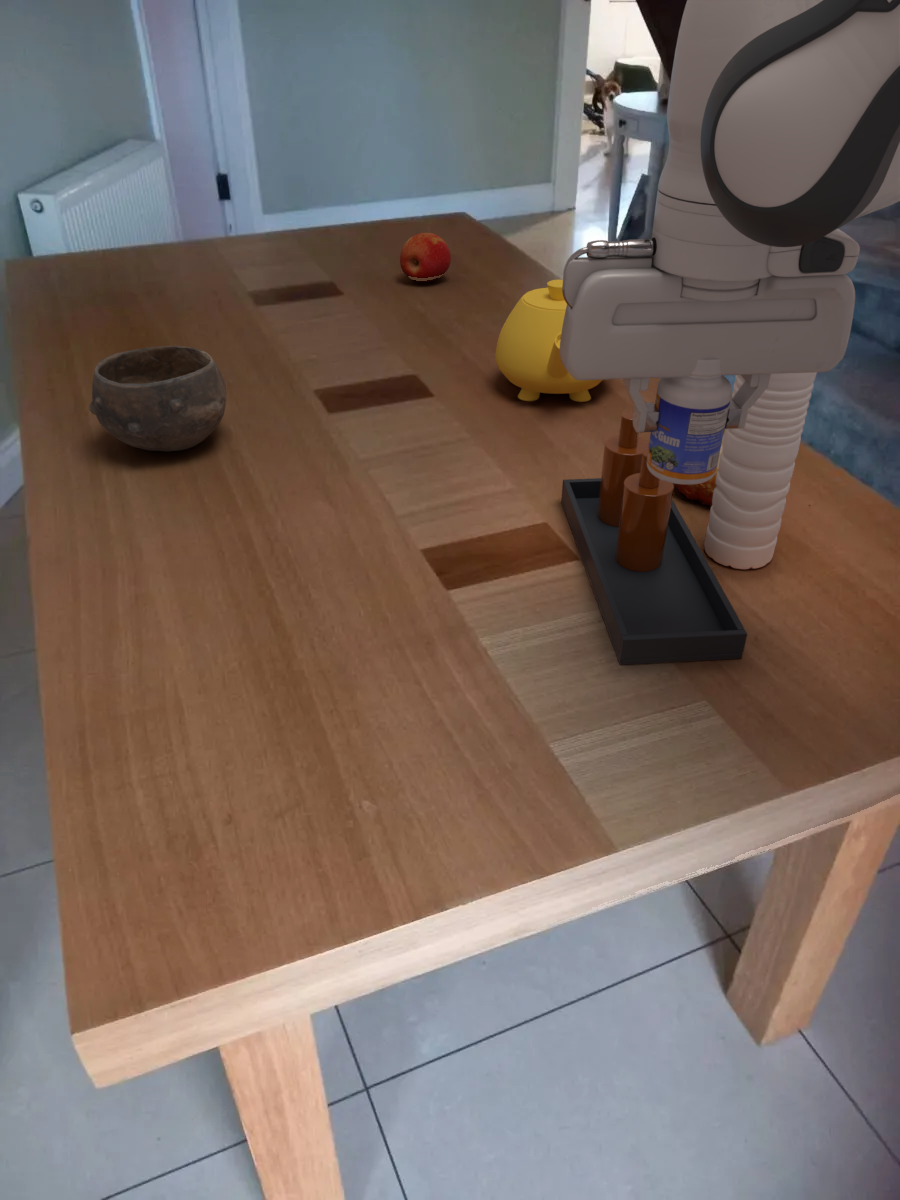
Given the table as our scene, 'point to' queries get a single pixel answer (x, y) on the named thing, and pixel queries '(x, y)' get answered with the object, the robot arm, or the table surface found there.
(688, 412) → the pill bottle
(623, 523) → the amber bottle
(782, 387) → the water bottle
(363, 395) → the table surface
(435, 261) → the apple
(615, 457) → the amber bottle
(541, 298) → the teapot
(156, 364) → the bowl
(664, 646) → the tray
